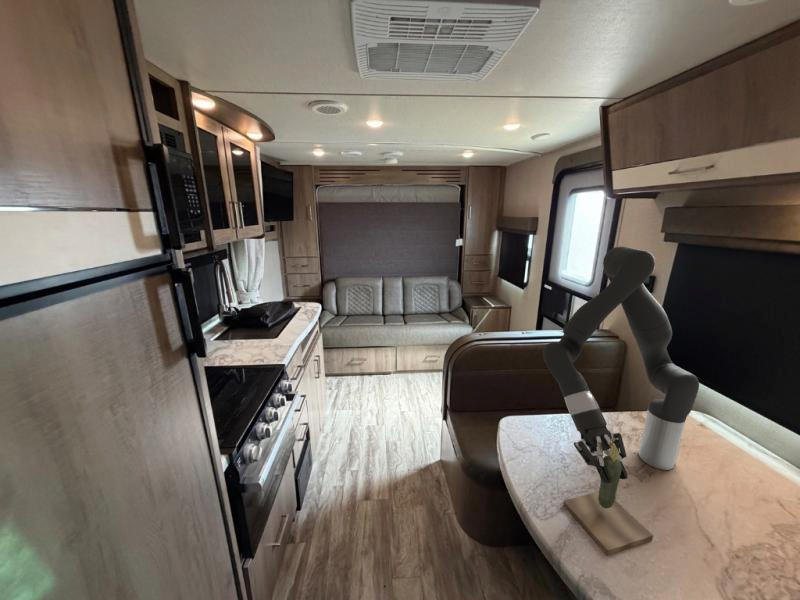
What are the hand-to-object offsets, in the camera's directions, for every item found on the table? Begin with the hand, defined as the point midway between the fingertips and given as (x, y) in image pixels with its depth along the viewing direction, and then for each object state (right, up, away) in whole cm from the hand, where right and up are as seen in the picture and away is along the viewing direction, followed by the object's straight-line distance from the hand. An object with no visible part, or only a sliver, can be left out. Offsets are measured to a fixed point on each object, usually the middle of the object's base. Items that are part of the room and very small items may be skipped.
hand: (616, 480), depth 78 cm
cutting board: (0, -13, +4) cm, 14 cm away
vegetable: (0, -10, +5) cm, 11 cm away
